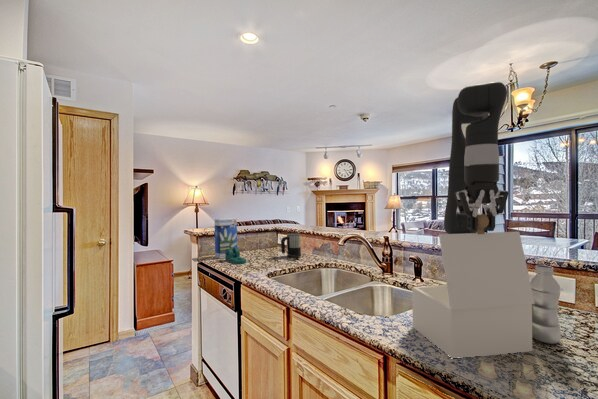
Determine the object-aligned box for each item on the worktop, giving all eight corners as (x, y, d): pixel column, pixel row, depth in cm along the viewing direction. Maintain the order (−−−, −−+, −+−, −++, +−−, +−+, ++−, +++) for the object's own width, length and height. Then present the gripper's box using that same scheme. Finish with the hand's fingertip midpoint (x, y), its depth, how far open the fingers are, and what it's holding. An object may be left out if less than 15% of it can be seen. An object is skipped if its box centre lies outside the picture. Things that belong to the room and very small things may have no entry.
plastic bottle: (545, 334, 83) (544, 263, 82) (568, 346, 76) (567, 269, 76) (523, 335, 82) (522, 263, 82) (543, 347, 76) (543, 269, 76)
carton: (412, 327, 89) (412, 287, 89) (478, 321, 92) (478, 283, 92) (451, 359, 71) (451, 309, 71) (532, 351, 74) (531, 303, 74)
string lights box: (219, 259, 193) (218, 219, 193) (214, 257, 199) (213, 219, 199) (237, 256, 202) (237, 218, 201) (232, 254, 207) (231, 217, 207)
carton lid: (434, 215, 77) (443, 212, 73) (510, 213, 80) (523, 210, 76) (448, 309, 72) (459, 311, 68) (529, 303, 75) (544, 304, 71)
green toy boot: (225, 260, 190) (225, 248, 189) (235, 258, 194) (235, 246, 194) (238, 265, 175) (237, 251, 175) (248, 263, 179) (248, 250, 179)
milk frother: (295, 254, 205) (295, 232, 205) (310, 257, 193) (310, 235, 192) (278, 257, 196) (278, 234, 196) (293, 261, 184) (293, 237, 184)
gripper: (494, 165, 80) (494, 228, 80) (446, 165, 78) (446, 230, 78) (519, 162, 72) (518, 232, 73) (465, 162, 70) (465, 234, 71)
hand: (481, 230), depth 76 cm, fingers closed on carton lid, 4 cm apart
